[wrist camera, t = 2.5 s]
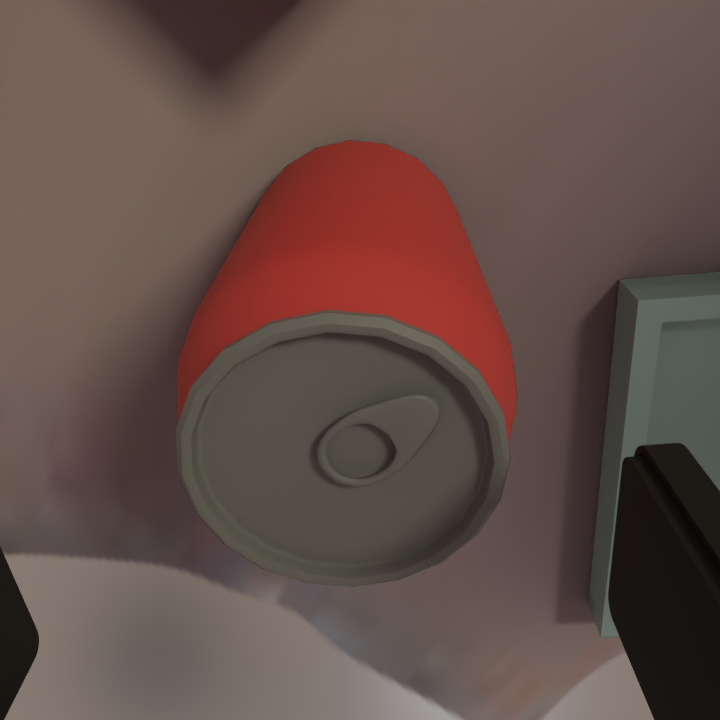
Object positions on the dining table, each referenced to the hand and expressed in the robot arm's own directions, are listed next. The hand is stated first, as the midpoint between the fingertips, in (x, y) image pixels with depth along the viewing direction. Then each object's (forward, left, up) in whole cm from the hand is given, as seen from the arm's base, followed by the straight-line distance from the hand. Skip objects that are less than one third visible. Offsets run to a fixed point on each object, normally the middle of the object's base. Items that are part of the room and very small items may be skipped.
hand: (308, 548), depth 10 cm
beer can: (0, 0, -14) cm, 14 cm away
